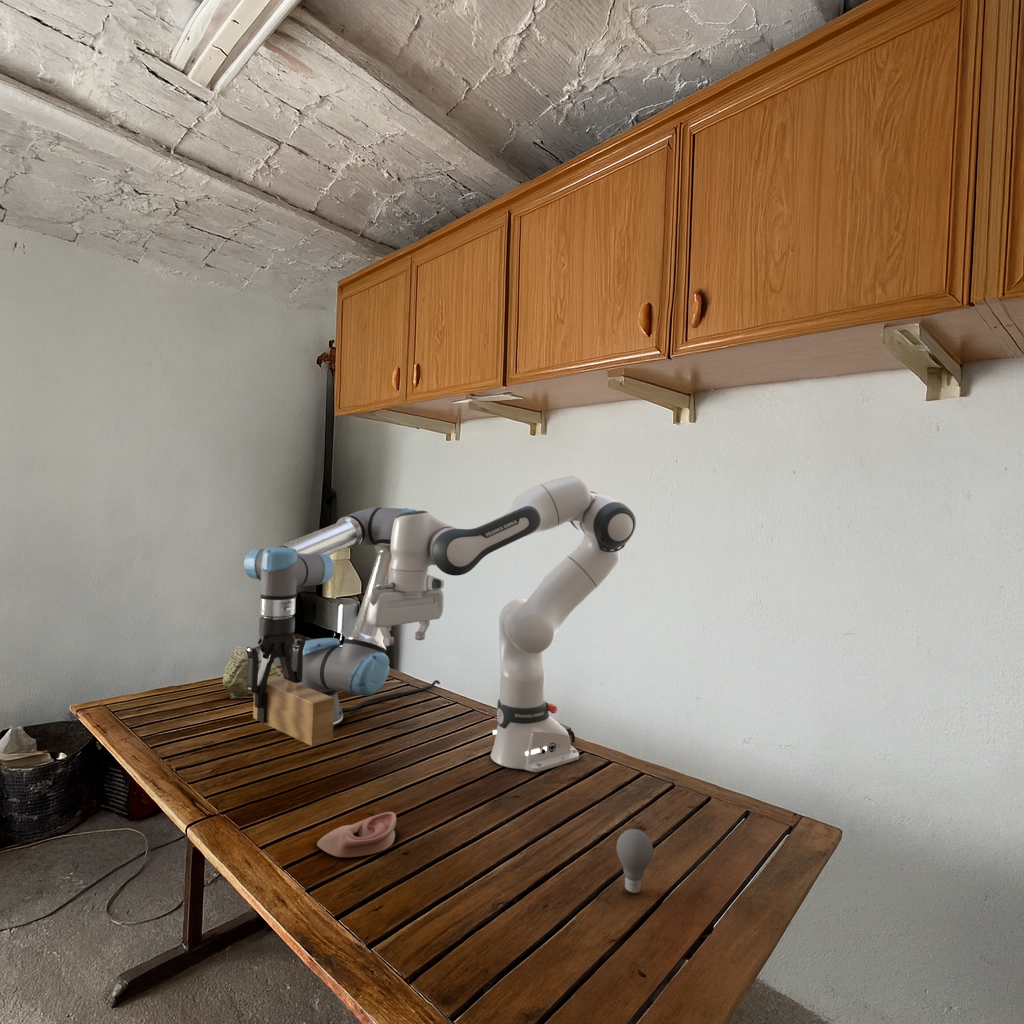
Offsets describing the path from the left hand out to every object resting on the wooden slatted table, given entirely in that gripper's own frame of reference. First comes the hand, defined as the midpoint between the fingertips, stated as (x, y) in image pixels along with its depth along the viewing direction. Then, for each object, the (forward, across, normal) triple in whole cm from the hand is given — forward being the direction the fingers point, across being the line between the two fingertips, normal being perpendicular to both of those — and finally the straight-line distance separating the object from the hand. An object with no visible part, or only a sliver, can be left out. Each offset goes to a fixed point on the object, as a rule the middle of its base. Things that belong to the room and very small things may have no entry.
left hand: (273, 717), depth 144 cm
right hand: (-18, +18, -22) cm, 34 cm away
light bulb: (+13, +17, -83) cm, 85 cm away
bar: (+1, 0, -7) cm, 7 cm away
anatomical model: (+13, -5, -38) cm, 40 cm away
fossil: (+13, +26, +54) cm, 61 cm away
